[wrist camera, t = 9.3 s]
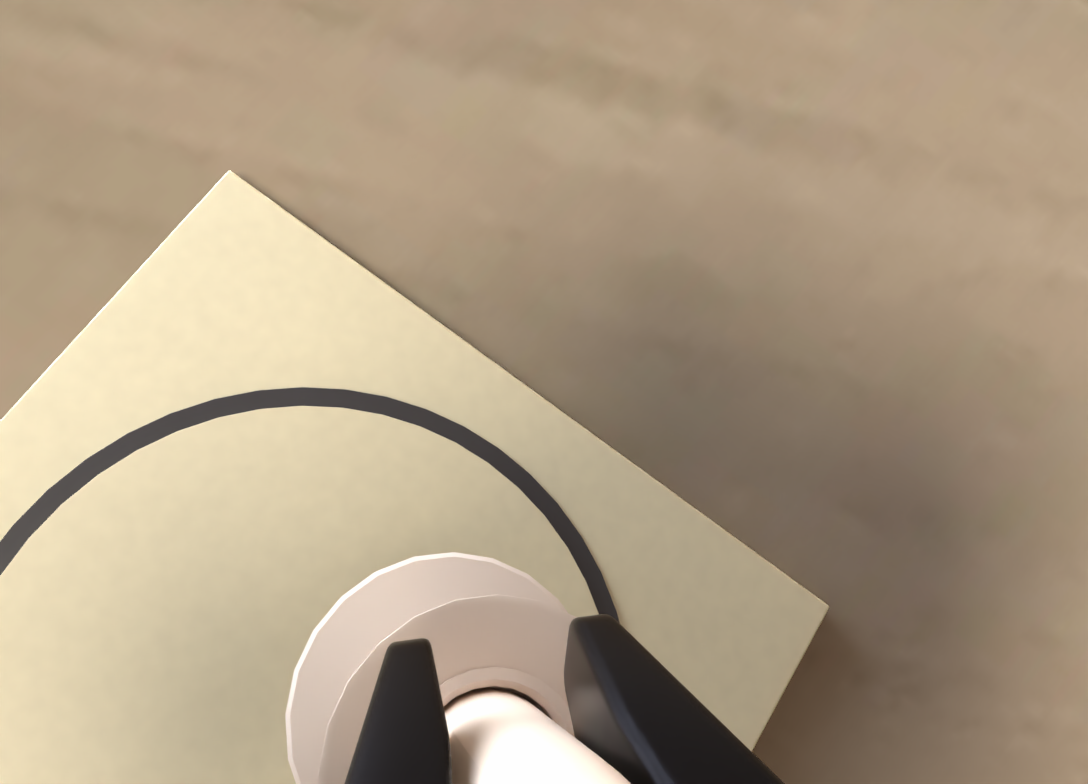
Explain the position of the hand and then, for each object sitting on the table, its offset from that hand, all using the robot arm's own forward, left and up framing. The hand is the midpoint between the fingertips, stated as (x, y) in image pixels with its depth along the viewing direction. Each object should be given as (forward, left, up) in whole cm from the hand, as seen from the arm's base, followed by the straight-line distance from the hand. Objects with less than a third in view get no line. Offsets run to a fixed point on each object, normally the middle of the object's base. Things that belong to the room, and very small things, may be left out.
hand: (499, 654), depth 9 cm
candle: (-1, -1, -7) cm, 7 cm away
